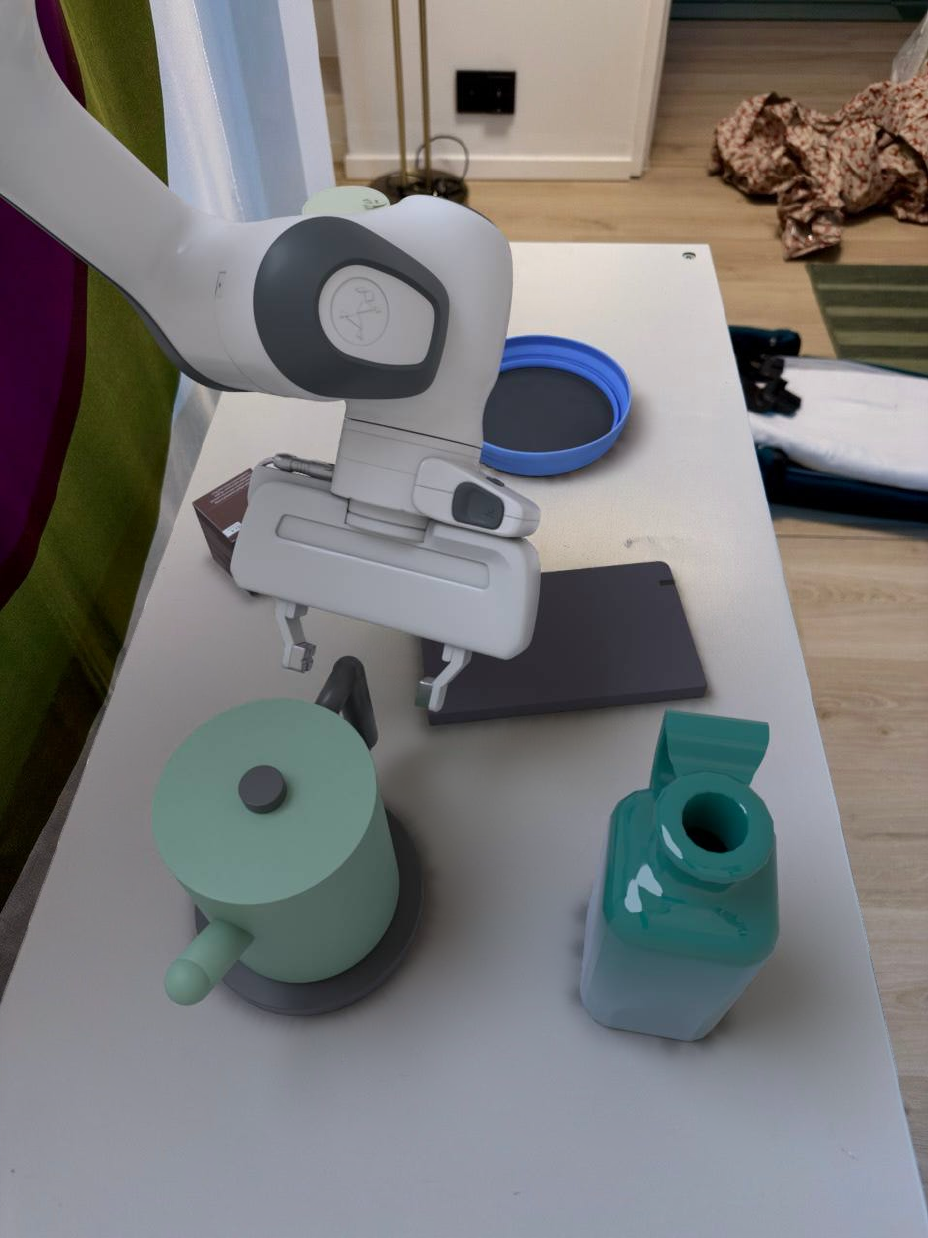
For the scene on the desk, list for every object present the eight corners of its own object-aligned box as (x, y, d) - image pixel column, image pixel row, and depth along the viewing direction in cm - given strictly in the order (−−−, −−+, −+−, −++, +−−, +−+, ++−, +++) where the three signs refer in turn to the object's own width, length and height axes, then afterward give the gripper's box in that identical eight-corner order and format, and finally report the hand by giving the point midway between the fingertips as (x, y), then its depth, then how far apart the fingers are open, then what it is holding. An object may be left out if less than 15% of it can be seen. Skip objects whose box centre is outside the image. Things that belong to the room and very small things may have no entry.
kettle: (322, 1090, 52) (269, 1029, 40) (143, 1016, 55) (44, 938, 43) (452, 773, 64) (441, 652, 52) (300, 725, 67) (257, 600, 55)
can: (406, 323, 99) (397, 219, 90) (324, 336, 98) (305, 232, 89) (392, 277, 105) (382, 175, 95) (314, 289, 104) (296, 186, 94)
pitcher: (716, 1048, 54) (821, 929, 37) (576, 1023, 55) (612, 895, 38) (717, 891, 60) (808, 723, 42) (590, 871, 61) (628, 699, 43)
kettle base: (201, 1038, 55) (195, 1033, 54) (199, 816, 64) (194, 807, 63) (441, 989, 57) (440, 983, 55) (406, 778, 66) (404, 769, 64)
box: (269, 525, 81) (251, 465, 75) (308, 561, 79) (293, 502, 73) (212, 560, 79) (189, 501, 73) (251, 599, 76) (230, 541, 70)
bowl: (655, 461, 85) (661, 433, 82) (471, 499, 82) (470, 470, 80) (592, 349, 95) (595, 320, 93) (427, 379, 93) (425, 350, 90)
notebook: (429, 725, 68) (704, 696, 69) (427, 714, 67) (708, 685, 68) (417, 596, 76) (665, 571, 77) (416, 584, 75) (668, 559, 75)
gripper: (232, 442, 56) (196, 654, 58) (549, 515, 51) (496, 742, 54) (278, 449, 62) (244, 641, 64) (565, 515, 57) (517, 719, 60)
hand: (361, 688), depth 59 cm, fingers open, 8 cm apart
